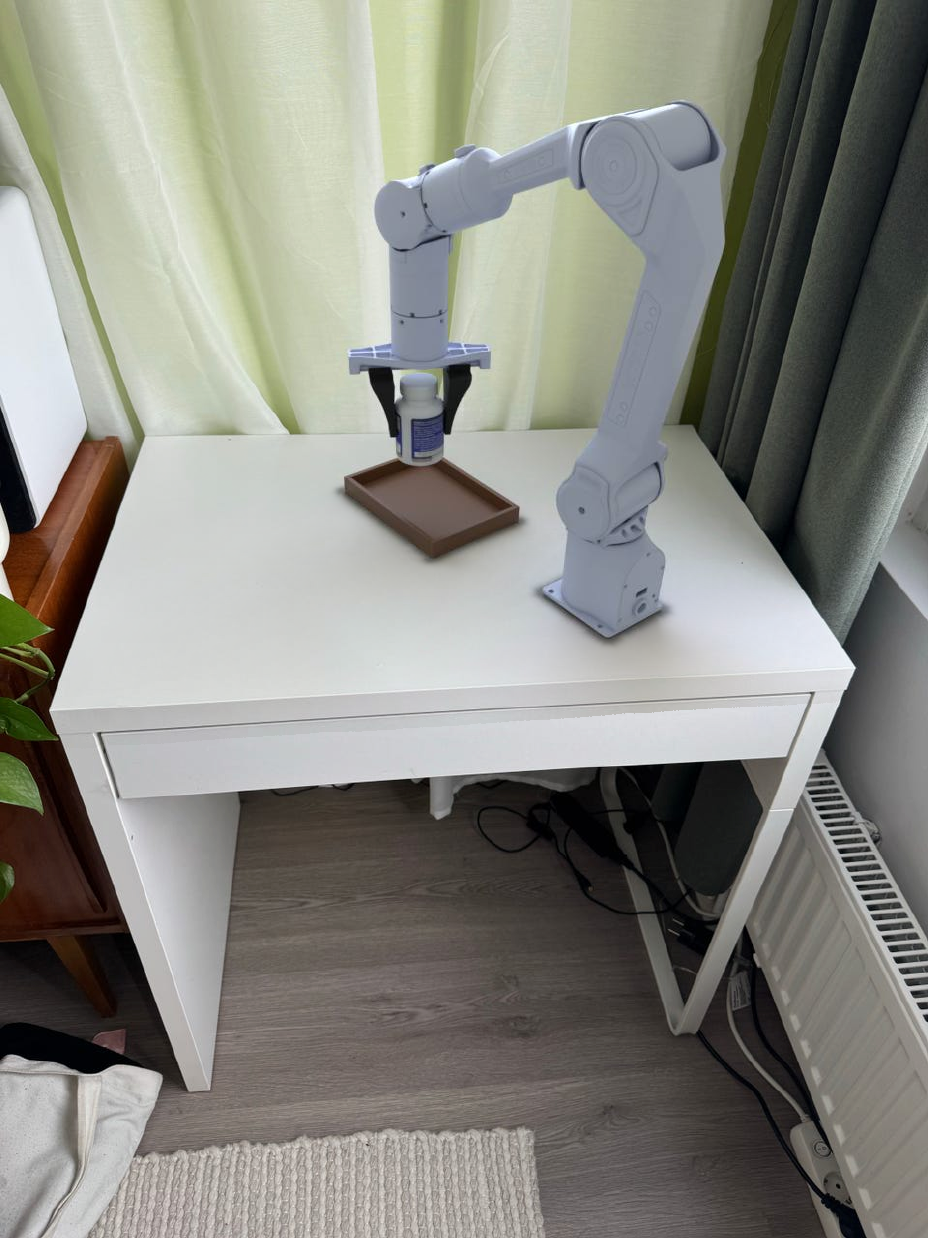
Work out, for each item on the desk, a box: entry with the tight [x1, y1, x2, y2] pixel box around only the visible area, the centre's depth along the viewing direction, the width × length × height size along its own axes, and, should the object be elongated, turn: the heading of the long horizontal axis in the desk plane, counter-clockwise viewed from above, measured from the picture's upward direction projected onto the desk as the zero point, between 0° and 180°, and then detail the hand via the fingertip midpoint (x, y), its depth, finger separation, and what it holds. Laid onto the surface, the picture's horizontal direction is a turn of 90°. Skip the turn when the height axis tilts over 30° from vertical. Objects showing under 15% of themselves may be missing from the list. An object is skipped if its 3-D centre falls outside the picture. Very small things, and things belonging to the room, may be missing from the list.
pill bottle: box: [395, 371, 445, 466], centre depth 99 cm, size 5×5×9 cm
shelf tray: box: [343, 456, 521, 559], centre depth 106 cm, size 17×12×2 cm
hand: (420, 431), depth 100 cm, fingers closed on pill bottle, 5 cm apart
